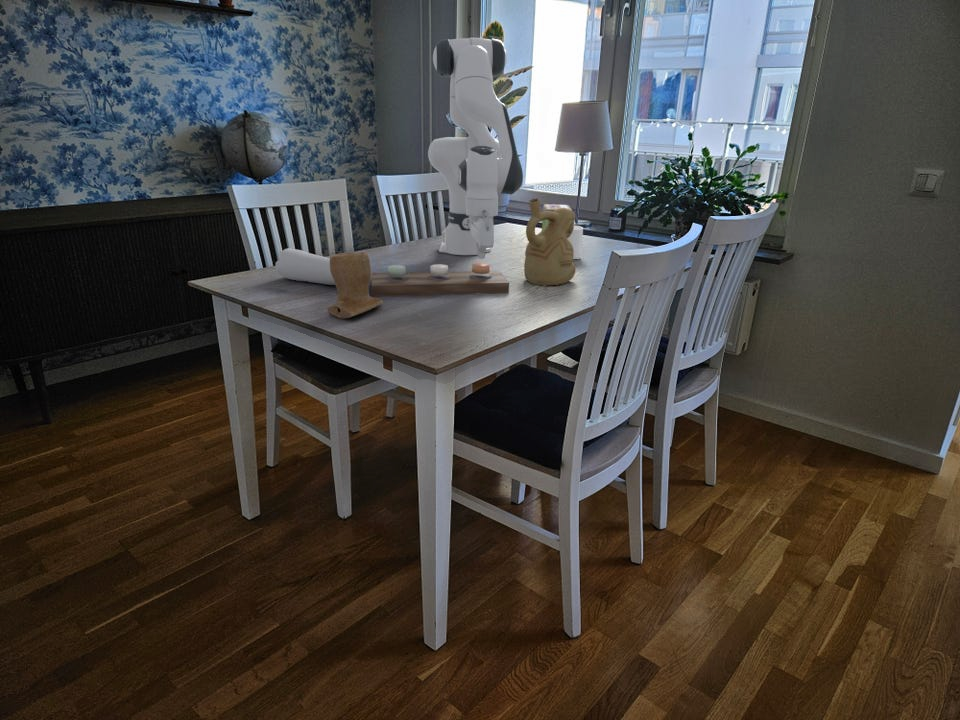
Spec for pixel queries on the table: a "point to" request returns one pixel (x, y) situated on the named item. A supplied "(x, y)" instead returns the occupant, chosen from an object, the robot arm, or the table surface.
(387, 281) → the button panel
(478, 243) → the robot arm
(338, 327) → the table surface
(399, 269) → the button sage
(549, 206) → the tea box
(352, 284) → the stone cup
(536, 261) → the ceramic vessel
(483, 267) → the button terracotta
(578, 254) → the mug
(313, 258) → the bottle
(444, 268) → the button cream
